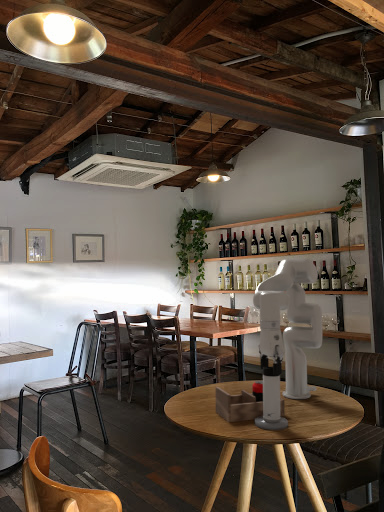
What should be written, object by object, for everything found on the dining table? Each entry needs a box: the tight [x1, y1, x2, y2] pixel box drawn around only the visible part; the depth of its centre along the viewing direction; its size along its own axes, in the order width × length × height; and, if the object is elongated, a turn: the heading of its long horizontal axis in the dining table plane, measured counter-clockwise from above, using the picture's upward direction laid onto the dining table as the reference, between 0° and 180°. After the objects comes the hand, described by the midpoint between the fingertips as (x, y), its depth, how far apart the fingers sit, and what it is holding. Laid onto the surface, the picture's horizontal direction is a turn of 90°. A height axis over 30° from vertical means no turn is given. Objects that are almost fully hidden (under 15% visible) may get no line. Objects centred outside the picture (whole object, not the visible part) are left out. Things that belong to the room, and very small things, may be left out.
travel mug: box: [262, 366, 282, 423], centre depth 160 cm, size 6×7×20 cm
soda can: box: [251, 380, 263, 402], centre depth 174 cm, size 8×8×12 cm
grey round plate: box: [254, 415, 289, 431], centre depth 159 cm, size 12×12×2 cm
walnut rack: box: [215, 386, 286, 423], centre depth 172 cm, size 24×13×10 cm, turn 108°
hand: (270, 371), depth 161 cm, fingers open, 9 cm apart
